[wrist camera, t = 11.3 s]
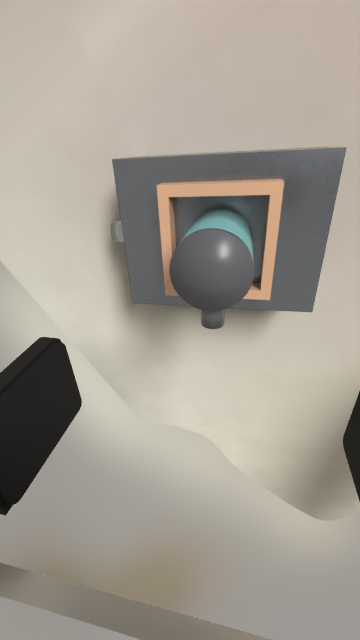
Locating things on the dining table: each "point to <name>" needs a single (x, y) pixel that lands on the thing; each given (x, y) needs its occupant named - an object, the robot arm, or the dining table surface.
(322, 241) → the grey box
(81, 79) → the dining table surface
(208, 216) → the cylinder
